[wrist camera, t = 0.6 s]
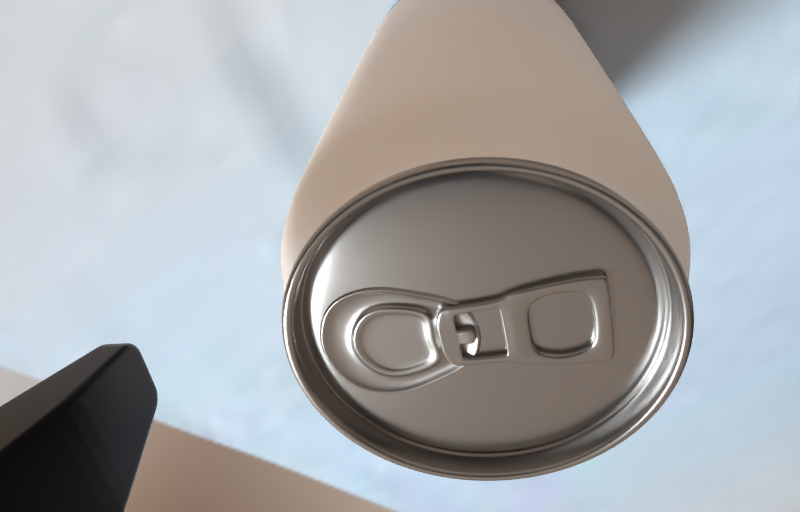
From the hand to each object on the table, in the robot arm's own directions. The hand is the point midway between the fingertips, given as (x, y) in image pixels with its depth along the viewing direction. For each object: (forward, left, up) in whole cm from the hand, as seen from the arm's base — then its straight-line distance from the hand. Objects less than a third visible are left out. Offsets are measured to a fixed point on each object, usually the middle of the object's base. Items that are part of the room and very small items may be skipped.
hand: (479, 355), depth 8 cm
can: (0, 0, -13) cm, 13 cm away
